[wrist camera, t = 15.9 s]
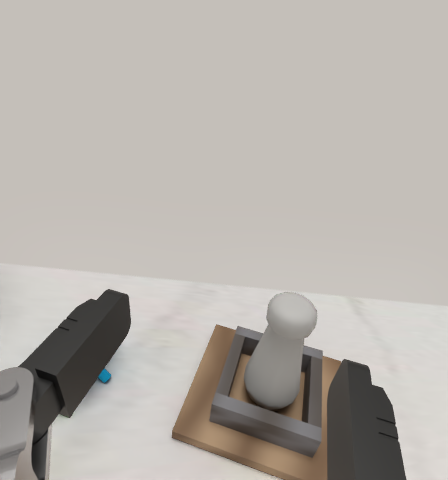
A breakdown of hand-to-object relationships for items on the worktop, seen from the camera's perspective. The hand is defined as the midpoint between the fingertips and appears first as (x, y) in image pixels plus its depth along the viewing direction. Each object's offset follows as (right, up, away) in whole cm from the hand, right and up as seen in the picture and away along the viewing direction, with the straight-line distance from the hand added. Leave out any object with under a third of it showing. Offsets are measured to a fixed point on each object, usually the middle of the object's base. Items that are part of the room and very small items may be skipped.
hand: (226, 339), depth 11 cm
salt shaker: (+5, -13, +22) cm, 26 cm away
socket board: (+4, -14, +23) cm, 27 cm away
